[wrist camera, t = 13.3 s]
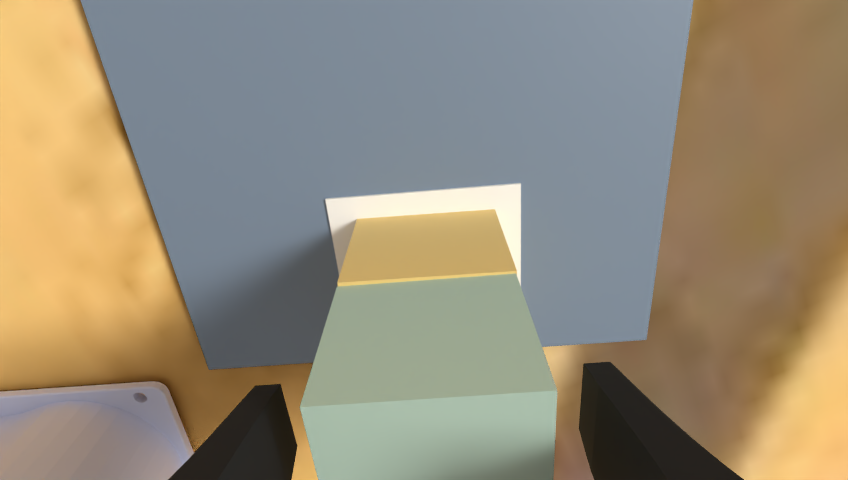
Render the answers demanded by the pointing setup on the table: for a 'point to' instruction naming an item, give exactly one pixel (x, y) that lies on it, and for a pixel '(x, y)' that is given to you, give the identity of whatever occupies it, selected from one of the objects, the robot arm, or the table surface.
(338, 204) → the board
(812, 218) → the table surface
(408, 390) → the sage block
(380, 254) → the mustard block
